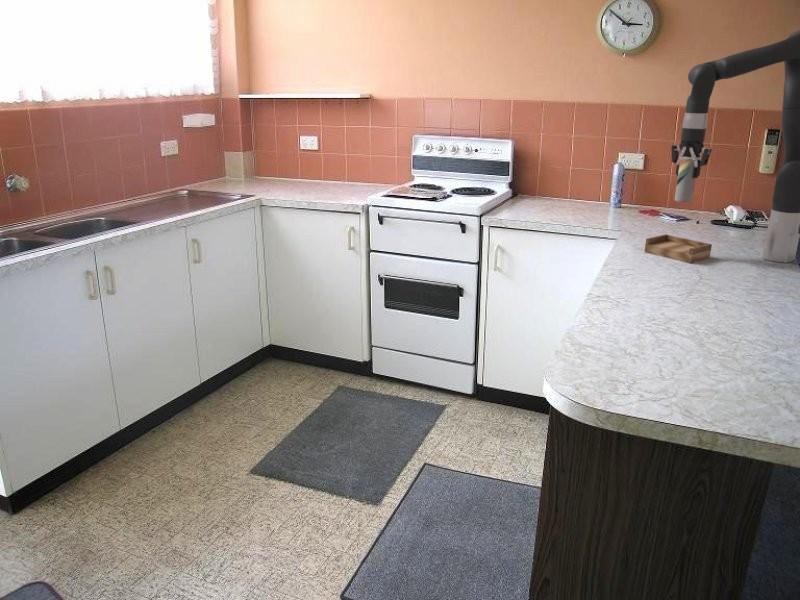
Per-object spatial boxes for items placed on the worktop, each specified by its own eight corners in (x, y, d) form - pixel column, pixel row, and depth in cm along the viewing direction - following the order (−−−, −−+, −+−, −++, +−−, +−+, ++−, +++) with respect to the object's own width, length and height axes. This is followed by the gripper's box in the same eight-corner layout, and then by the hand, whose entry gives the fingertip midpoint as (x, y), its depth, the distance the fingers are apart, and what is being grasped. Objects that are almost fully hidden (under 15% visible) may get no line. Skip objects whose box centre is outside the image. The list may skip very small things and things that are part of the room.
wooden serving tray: (709, 258, 234) (711, 244, 232) (690, 263, 227) (692, 249, 225) (663, 247, 247) (665, 234, 246) (644, 252, 241) (646, 238, 239)
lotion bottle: (689, 200, 236) (697, 142, 229) (694, 202, 230) (702, 143, 224) (672, 199, 236) (680, 141, 230) (676, 202, 231) (685, 143, 225)
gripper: (720, 127, 222) (712, 178, 227) (681, 125, 233) (674, 173, 238) (707, 128, 218) (699, 180, 223) (668, 125, 229) (662, 175, 234)
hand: (686, 176), depth 231 cm, fingers closed on lotion bottle, 5 cm apart
